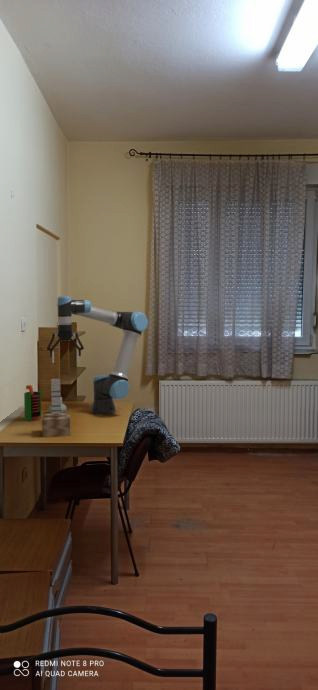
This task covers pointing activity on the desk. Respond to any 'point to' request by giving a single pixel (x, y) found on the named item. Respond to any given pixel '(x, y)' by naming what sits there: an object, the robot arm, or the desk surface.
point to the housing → (56, 425)
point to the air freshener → (63, 407)
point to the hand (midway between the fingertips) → (65, 362)
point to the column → (55, 397)
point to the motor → (32, 404)
